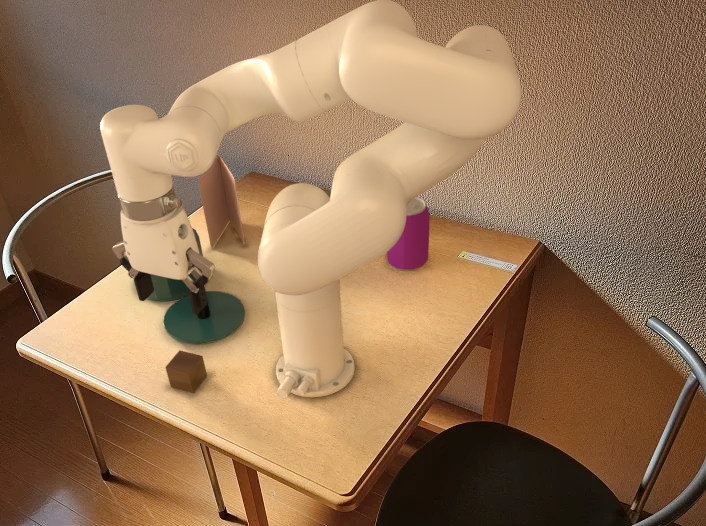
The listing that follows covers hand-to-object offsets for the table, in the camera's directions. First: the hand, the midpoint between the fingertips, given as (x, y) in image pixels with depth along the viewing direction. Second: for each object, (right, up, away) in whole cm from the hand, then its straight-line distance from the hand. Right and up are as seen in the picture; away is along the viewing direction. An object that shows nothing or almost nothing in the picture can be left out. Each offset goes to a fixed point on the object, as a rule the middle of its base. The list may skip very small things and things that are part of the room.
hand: (173, 302), depth 112 cm
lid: (+3, -1, +19) cm, 19 cm away
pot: (-5, +8, +30) cm, 31 cm away
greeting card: (+6, +18, +40) cm, 44 cm away
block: (+1, -12, +8) cm, 14 cm away
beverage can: (+40, +10, +27) cm, 49 cm away
